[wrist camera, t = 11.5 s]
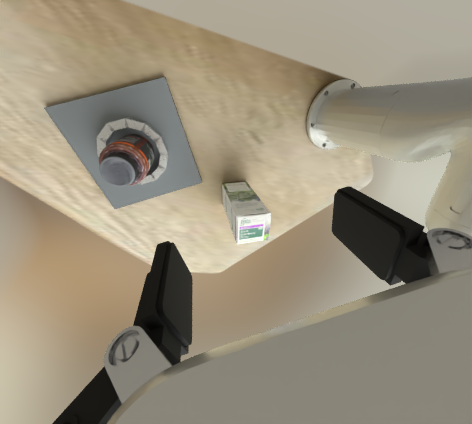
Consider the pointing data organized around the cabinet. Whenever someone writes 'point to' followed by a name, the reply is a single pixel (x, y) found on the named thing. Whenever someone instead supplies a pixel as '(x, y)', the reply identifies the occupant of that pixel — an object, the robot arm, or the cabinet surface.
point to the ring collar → (112, 127)
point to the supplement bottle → (126, 160)
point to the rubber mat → (119, 107)
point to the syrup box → (245, 213)
